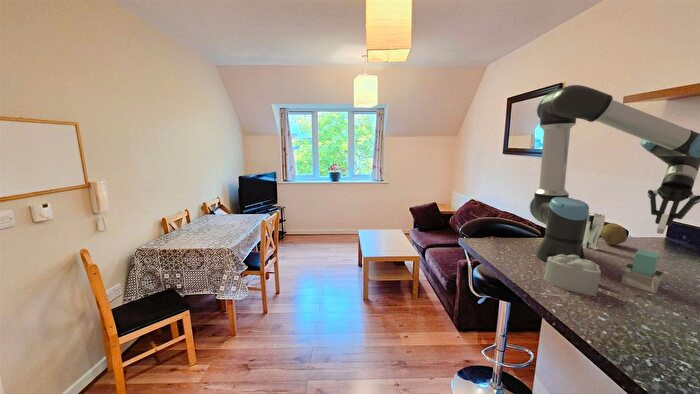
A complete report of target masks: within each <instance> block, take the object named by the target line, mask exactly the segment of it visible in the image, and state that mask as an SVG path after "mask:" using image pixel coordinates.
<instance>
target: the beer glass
mask: <svg viewBox="0 0 700 394" xmlns="http://www.w3.org/2000/svg"><path fill="white" fill-rule="evenodd" d="M605 219H606V215H605V214H601V213H596V212H589V216H588V219H587V224H586V229H585V234H584V239H583V249H588V250H591V251H598V242H599V239H600V238H601V236H600V235H601V233H602V230H603V227H604V226H605V221H606V220H605Z"/></svg>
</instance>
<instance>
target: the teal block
mask: <svg viewBox="0 0 700 394" xmlns="http://www.w3.org/2000/svg"><path fill="white" fill-rule="evenodd" d="M659 256H660V253H658V252H653V251H649V250H645V249H637V251H636V252H635V255H634V258H633V263H632V265H633V267H632V272H636V273H640V274H644V275H647V276H651V277H654V275H655V272H656V268H657V265H658V262H659V261H658V260H659Z"/></svg>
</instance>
